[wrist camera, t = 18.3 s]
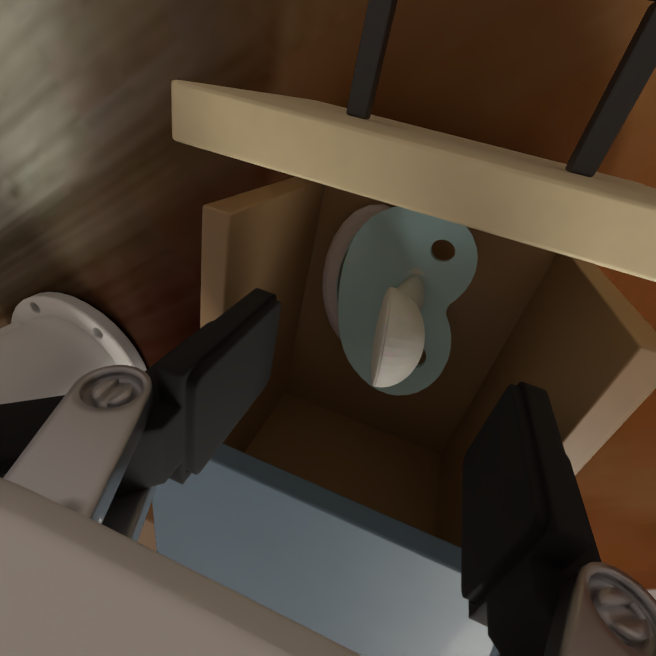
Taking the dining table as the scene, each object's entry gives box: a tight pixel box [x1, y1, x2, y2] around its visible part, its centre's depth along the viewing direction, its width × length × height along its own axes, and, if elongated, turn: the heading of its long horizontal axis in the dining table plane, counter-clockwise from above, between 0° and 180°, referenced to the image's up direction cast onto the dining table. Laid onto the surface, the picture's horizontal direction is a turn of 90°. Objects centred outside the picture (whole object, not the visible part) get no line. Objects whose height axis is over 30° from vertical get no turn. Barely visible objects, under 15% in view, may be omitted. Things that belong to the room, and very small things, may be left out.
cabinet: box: [152, 443, 494, 656], centre depth 20 cm, size 17×14×11 cm
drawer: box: [171, 0, 656, 548], centre depth 13 cm, size 20×12×9 cm, turn 168°
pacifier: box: [322, 204, 478, 395], centre depth 13 cm, size 7×6×6 cm
